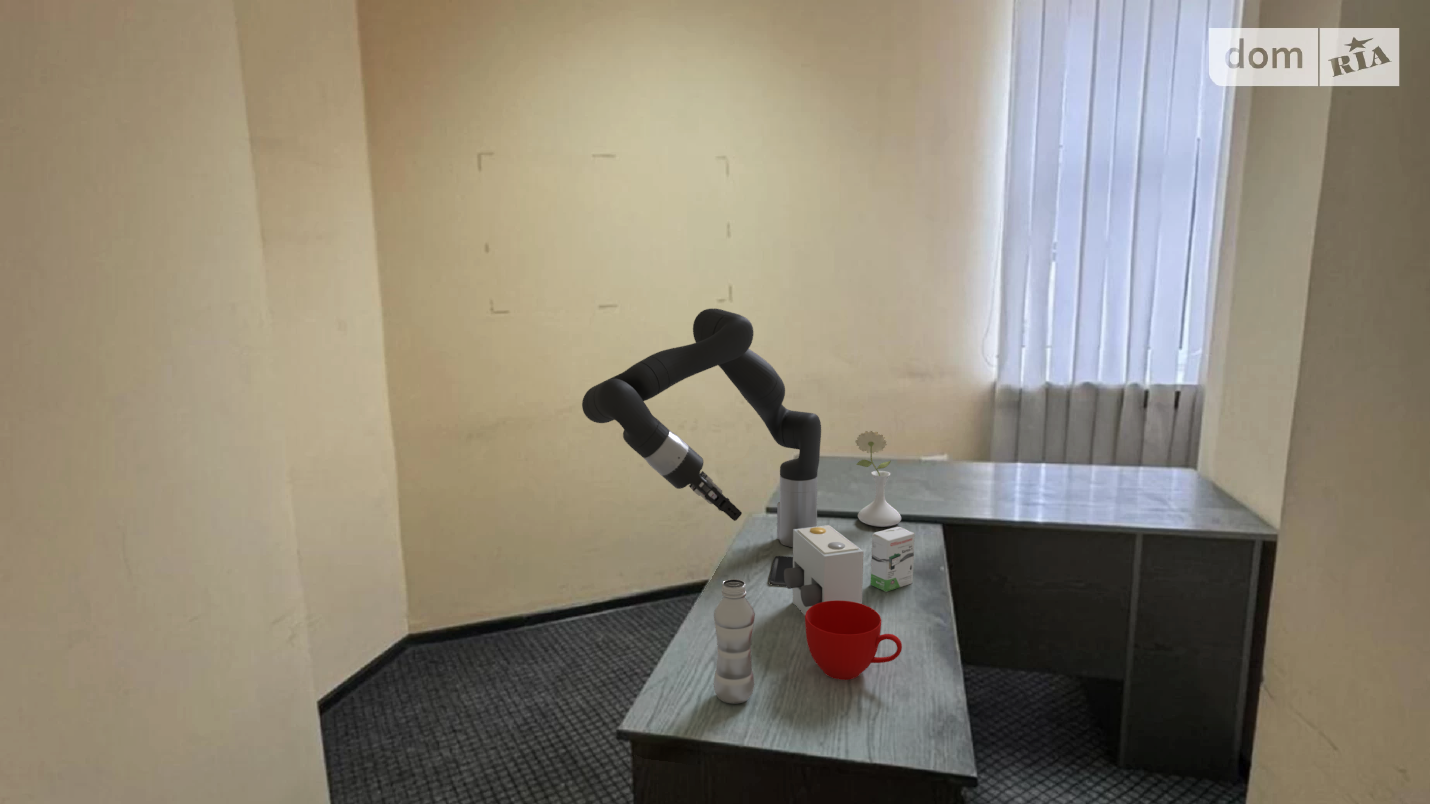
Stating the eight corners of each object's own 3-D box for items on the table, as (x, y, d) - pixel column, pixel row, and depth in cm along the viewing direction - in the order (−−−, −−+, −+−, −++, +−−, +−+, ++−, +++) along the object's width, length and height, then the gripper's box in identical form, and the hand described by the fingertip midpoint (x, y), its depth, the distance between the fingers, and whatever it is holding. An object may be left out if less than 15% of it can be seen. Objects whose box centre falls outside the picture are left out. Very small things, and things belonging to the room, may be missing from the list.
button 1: (791, 591, 154) (791, 573, 153) (783, 583, 158) (783, 565, 157) (809, 589, 155) (810, 570, 154) (801, 581, 159) (802, 563, 158)
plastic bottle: (712, 688, 130) (710, 576, 126) (752, 685, 130) (752, 574, 126) (715, 710, 123) (714, 593, 119) (757, 707, 124) (757, 591, 120)
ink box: (885, 592, 165) (887, 540, 162) (869, 584, 169) (870, 533, 167) (914, 583, 169) (916, 531, 167) (897, 575, 174) (899, 525, 171)
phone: (768, 581, 169) (774, 555, 183) (768, 586, 169) (774, 559, 184) (804, 584, 168) (808, 557, 182) (804, 589, 168) (808, 561, 182)
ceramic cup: (886, 706, 124) (888, 648, 122) (791, 676, 133) (792, 622, 131) (912, 669, 135) (914, 616, 133) (822, 644, 143) (823, 594, 142)
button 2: (808, 610, 146) (809, 590, 145) (800, 601, 150) (800, 582, 149) (828, 607, 147) (828, 587, 146) (819, 598, 151) (819, 579, 150)
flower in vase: (907, 520, 208) (910, 430, 204) (892, 533, 199) (895, 439, 194) (861, 512, 215) (863, 424, 210) (845, 524, 206) (847, 433, 201)
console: (823, 635, 147) (824, 553, 143) (792, 602, 161) (793, 527, 157) (861, 629, 149) (863, 548, 146) (827, 597, 163) (829, 522, 160)
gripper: (696, 452, 137) (761, 510, 143) (677, 435, 150) (736, 489, 156) (668, 484, 137) (734, 541, 143) (651, 463, 150) (712, 517, 156)
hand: (735, 513), depth 149 cm, fingers open, 3 cm apart
